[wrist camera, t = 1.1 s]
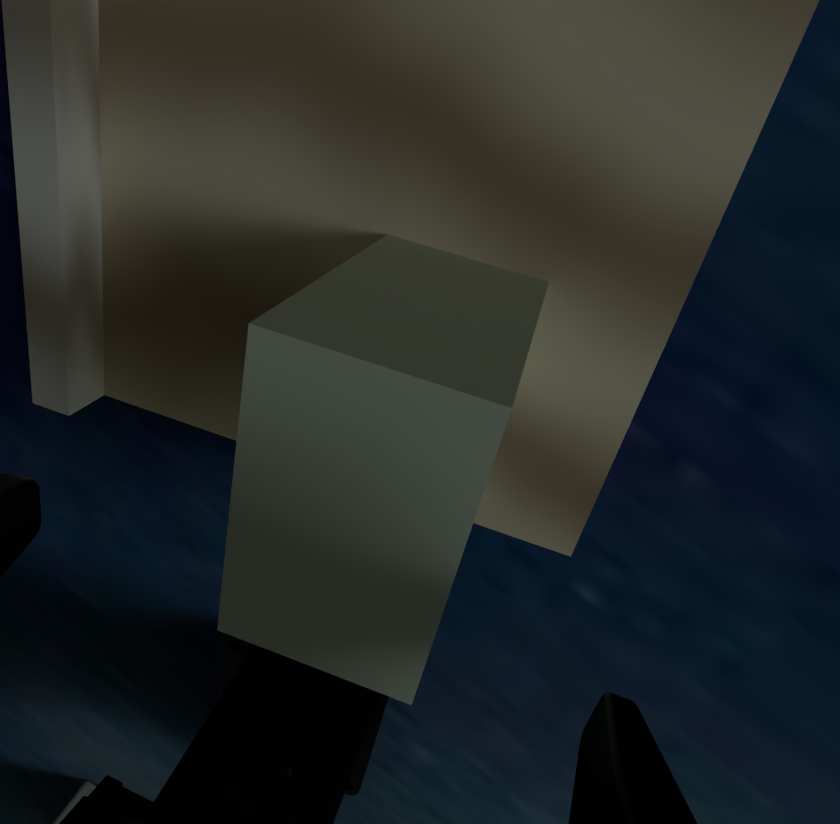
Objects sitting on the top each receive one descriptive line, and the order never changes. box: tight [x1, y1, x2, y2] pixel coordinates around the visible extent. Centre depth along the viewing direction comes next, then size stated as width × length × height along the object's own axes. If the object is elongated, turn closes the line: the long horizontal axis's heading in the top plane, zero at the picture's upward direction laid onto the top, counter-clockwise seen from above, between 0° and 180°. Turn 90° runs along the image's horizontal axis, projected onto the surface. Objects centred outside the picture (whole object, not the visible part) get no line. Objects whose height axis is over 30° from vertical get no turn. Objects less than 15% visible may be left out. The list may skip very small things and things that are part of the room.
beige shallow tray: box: [2, 0, 819, 557], centre depth 14 cm, size 19×16×2 cm
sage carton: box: [217, 234, 549, 705], centre depth 14 cm, size 4×7×7 cm, turn 167°
